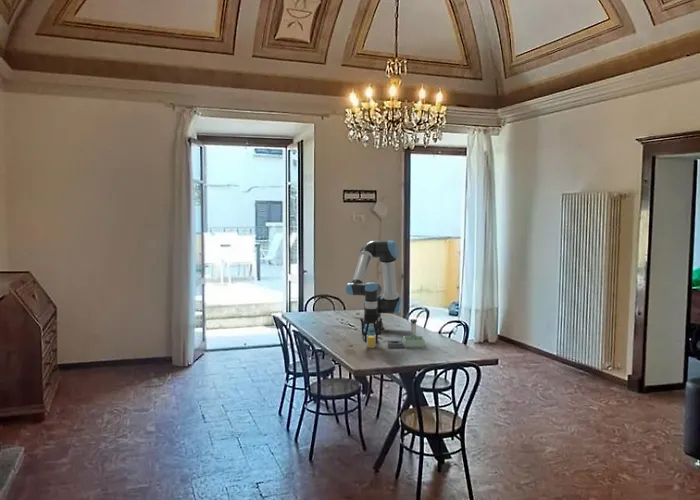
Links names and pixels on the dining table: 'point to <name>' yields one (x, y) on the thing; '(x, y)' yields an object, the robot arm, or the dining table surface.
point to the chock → (371, 342)
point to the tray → (414, 342)
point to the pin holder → (395, 344)
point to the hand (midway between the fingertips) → (371, 345)
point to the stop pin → (413, 329)
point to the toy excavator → (369, 330)
